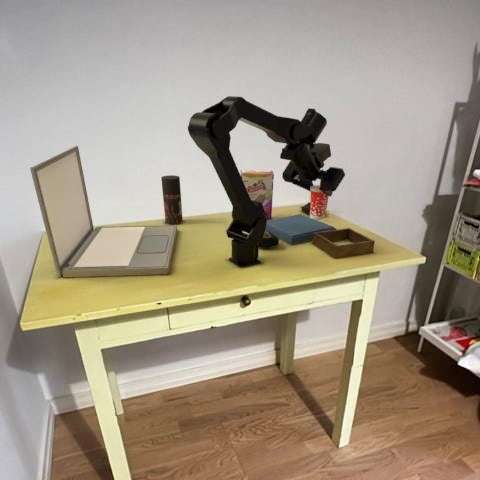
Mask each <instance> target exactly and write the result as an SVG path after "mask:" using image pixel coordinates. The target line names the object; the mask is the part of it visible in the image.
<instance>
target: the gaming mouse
mask: <svg viewBox="0 0 480 480" xmlns="http://www.w3.org/2000/svg"><path fill="white" fill-rule="evenodd" d="M300 208H301V211H302V212H303V213H305V214H306V215H307V216H310V201H308V202H307V203H306V204H305V205H303V206H302V205H301V206H300ZM326 215H327V213H326V214H325V216H326Z"/></svg>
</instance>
